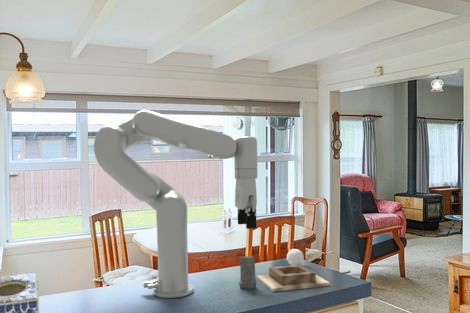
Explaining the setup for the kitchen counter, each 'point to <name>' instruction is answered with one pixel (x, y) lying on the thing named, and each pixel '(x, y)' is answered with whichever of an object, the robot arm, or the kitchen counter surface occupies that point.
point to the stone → (247, 272)
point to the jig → (291, 278)
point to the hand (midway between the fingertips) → (246, 226)
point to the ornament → (295, 257)
